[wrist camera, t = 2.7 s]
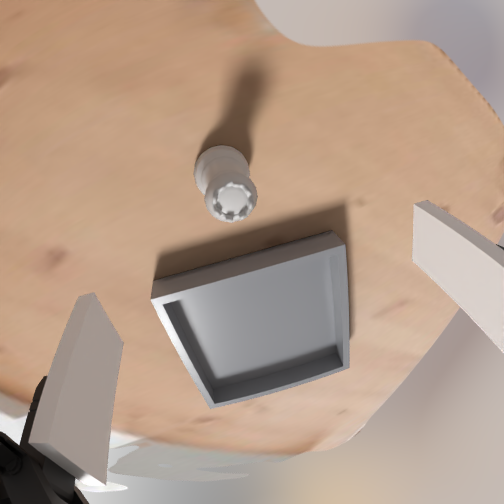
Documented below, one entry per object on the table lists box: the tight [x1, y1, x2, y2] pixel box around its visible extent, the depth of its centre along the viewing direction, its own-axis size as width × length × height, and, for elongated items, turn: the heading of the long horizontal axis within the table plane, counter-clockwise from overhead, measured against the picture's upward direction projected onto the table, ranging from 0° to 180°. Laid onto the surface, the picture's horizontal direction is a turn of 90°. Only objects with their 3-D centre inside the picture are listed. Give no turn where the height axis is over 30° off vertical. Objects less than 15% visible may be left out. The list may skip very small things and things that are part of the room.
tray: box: [151, 230, 349, 409], centre depth 33 cm, size 18×18×3 cm
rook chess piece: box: [194, 145, 258, 223], centre depth 22 cm, size 4×4×8 cm
